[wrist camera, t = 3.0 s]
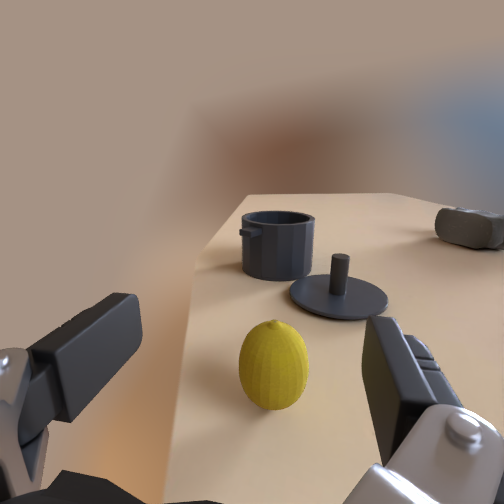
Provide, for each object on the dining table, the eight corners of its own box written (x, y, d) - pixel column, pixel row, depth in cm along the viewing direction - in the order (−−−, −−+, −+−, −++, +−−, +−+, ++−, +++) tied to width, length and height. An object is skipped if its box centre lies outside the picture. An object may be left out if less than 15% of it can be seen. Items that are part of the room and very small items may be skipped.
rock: (536, 253, 65) (547, 217, 62) (495, 257, 62) (504, 219, 60) (461, 233, 82) (467, 203, 79) (426, 235, 79) (431, 205, 77)
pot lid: (271, 302, 43) (272, 258, 41) (316, 274, 53) (318, 237, 51) (367, 336, 35) (375, 284, 33) (398, 295, 45) (405, 253, 43)
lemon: (275, 448, 22) (278, 353, 19) (225, 404, 25) (223, 320, 23) (318, 405, 25) (326, 321, 23) (269, 373, 29) (271, 297, 27)
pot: (217, 273, 53) (215, 220, 50) (275, 249, 67) (277, 206, 64) (277, 293, 46) (279, 232, 43) (329, 262, 59) (333, 214, 56)
